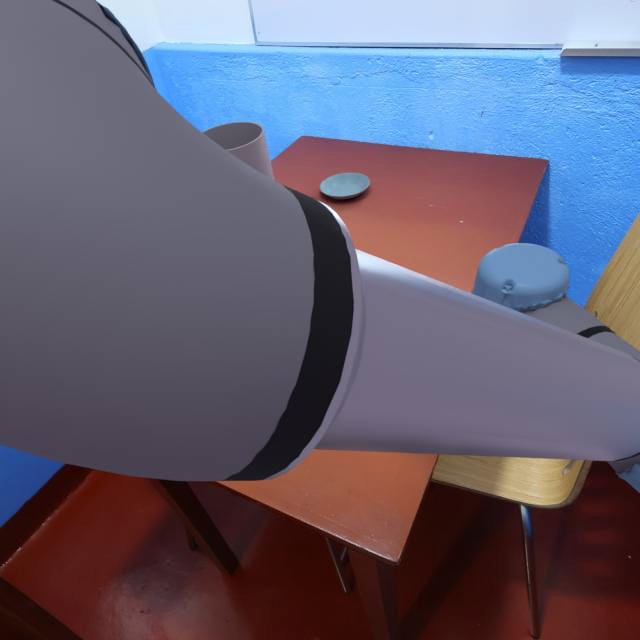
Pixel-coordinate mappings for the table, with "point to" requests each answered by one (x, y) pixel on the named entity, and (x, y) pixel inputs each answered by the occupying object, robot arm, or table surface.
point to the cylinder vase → (244, 144)
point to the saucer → (345, 185)
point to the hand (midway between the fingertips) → (282, 289)
